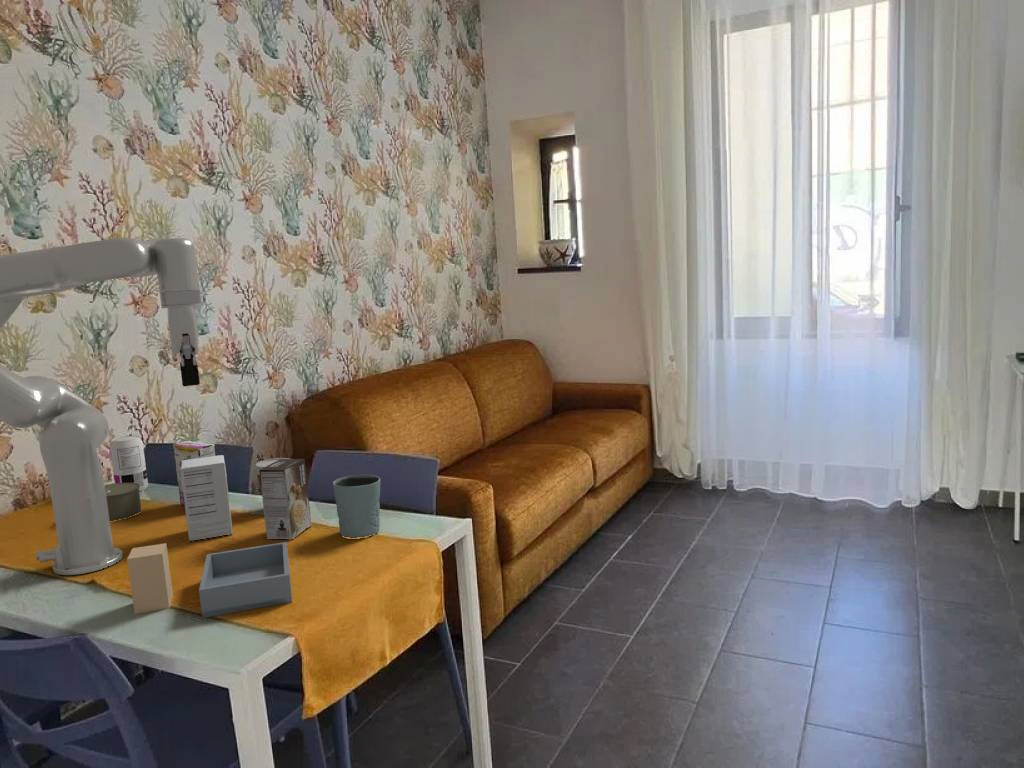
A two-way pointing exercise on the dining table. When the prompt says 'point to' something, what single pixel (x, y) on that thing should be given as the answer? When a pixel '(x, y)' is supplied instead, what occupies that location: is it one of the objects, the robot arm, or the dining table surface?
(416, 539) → the dining table surface
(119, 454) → the supplement can
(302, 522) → the coffee box
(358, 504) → the teal cup
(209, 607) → the tote
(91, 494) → the robot arm
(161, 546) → the carton
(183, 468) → the supplement box
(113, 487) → the can
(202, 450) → the candy bar box
